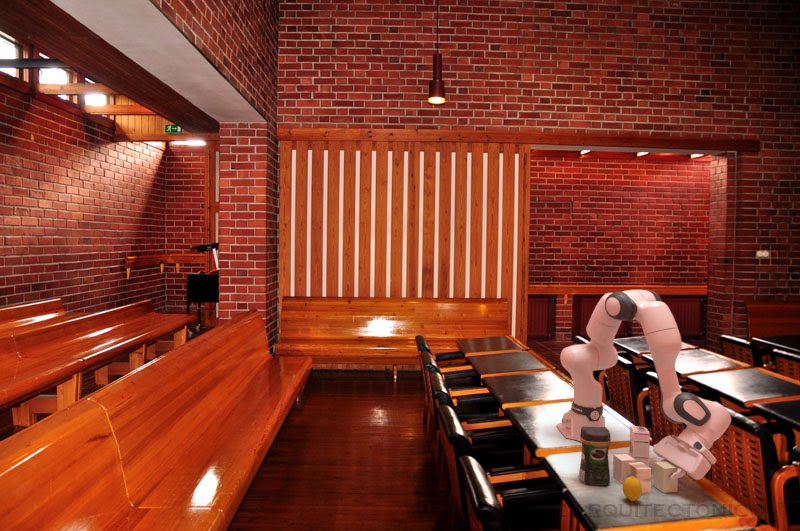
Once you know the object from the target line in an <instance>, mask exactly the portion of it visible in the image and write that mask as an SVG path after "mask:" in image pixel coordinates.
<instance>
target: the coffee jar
mask: <svg viewBox="0 0 800 531" xmlns="http://www.w3.org/2000/svg"><path fill="white" fill-rule="evenodd" d="M610 433H611V432H610V431H609V429H608V428H607V427H606V426H605V427H585V426H583V427H582V428H581V434H580V440H581V441H580V442H581V457H580V465H579V474H578V475H579V476H578V477H579V479H580V481H581V482H582V483H584V484H586V485H589V486H590V485H591V486H608V485H609V484H611V483H610V482H611V475H610V474H611V473H610V463H609V448H610V445H611V434H610Z"/></svg>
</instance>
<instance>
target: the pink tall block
mask: <svg viewBox="0 0 800 531" xmlns="http://www.w3.org/2000/svg"><path fill="white" fill-rule="evenodd" d="M631 476H634V477H635V478H637V479H638V480H639V481H640V483H641V486H642V494H651V489H652V485H651V484H652V483H651V482H652V468H651V467H650V466H649V467H648V466H647V465H645V464H644V463H642V462H637V463H628V477H631Z"/></svg>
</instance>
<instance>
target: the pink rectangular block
mask: <svg viewBox="0 0 800 531" xmlns="http://www.w3.org/2000/svg"><path fill="white" fill-rule="evenodd" d="M612 456H613V457H612V458H613V461H612V462H613V463H612V479H614V480H615V481H616V482H618V483H619V484H620V485H623V483H624V481H625V479H626V478H628V463H635V461H636V460H635V459H633V458H632V457H630V456H629V453H628V454H627V453H623V454H622V453H621V454H620V453H619V454H613V455H612Z"/></svg>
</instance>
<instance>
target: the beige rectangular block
mask: <svg viewBox="0 0 800 531" xmlns="http://www.w3.org/2000/svg"><path fill="white" fill-rule="evenodd" d="M653 468H654V470H653V487H655V488H656V489H657V490H659V491H660V492H661V493H664V494H667V493H677V492H678V488H679V487H678V486H679V485H678V484H679V478H677V479H676V480H675V481H674V482H673V481H672V480H670V479H669V478H668V476H669V475H670V474H671V473H672V474H673V473H675V472H677V469H678V467H676V466H675V465H673V464H672V463H670V462H668V461H666V462H659V461H656V462H655V461H654V466H653Z"/></svg>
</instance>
